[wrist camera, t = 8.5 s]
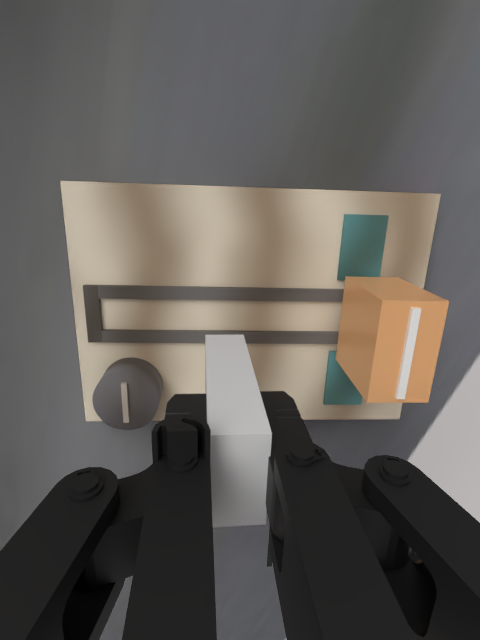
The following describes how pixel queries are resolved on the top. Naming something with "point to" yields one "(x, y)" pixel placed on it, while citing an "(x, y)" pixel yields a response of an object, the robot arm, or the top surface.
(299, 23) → the top surface
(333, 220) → the console
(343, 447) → the top surface
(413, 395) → the fader knob
